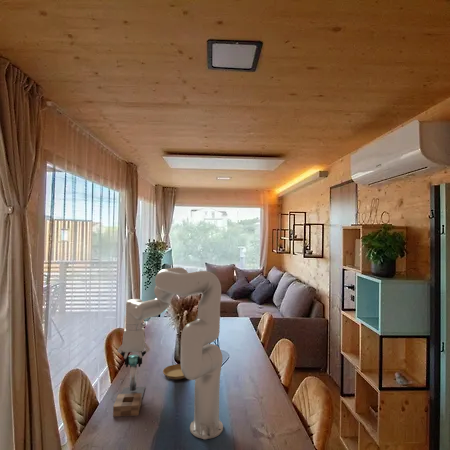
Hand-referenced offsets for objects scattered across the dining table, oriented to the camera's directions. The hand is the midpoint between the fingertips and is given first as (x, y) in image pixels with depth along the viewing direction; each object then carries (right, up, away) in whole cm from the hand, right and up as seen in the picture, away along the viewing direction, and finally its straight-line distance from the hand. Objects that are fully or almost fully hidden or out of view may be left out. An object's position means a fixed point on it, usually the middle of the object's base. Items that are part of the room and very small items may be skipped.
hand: (133, 365), depth 149 cm
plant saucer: (+17, -14, +20) cm, 30 cm away
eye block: (+1, -13, -13) cm, 18 cm away
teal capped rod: (0, -11, 0) cm, 11 cm away
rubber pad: (0, -13, 0) cm, 13 cm away
